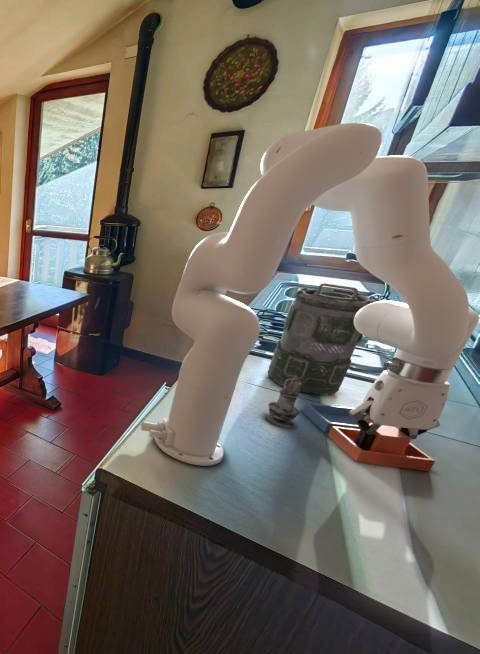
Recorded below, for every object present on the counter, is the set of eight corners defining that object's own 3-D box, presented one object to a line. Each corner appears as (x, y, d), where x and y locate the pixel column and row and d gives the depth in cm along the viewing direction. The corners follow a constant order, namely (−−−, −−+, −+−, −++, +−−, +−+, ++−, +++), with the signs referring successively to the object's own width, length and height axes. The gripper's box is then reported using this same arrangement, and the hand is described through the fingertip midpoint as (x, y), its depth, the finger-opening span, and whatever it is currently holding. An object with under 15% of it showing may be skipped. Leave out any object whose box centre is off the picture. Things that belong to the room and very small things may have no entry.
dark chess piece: (300, 430, 88) (319, 382, 83) (271, 426, 89) (288, 379, 84) (286, 416, 93) (303, 371, 88) (258, 413, 94) (274, 368, 89)
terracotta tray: (355, 461, 78) (361, 451, 77) (327, 435, 86) (332, 425, 85) (429, 471, 75) (435, 461, 74) (393, 443, 84) (398, 433, 83)
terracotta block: (371, 455, 79) (381, 435, 77) (354, 441, 83) (364, 421, 81) (400, 459, 78) (412, 438, 76) (382, 445, 82) (392, 425, 80)
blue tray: (324, 432, 87) (328, 423, 86) (301, 411, 95) (305, 402, 94) (389, 440, 85) (394, 430, 84) (359, 418, 93) (364, 409, 92)
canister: (259, 381, 110) (293, 284, 99) (273, 366, 120) (306, 276, 109) (332, 403, 99) (379, 296, 88) (341, 385, 109) (385, 286, 98)
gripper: (379, 373, 72) (340, 454, 79) (493, 384, 68) (443, 467, 75) (351, 358, 78) (318, 433, 85) (454, 366, 75) (411, 444, 82)
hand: (377, 448), depth 80 cm, fingers closed on terracotta block, 5 cm apart
